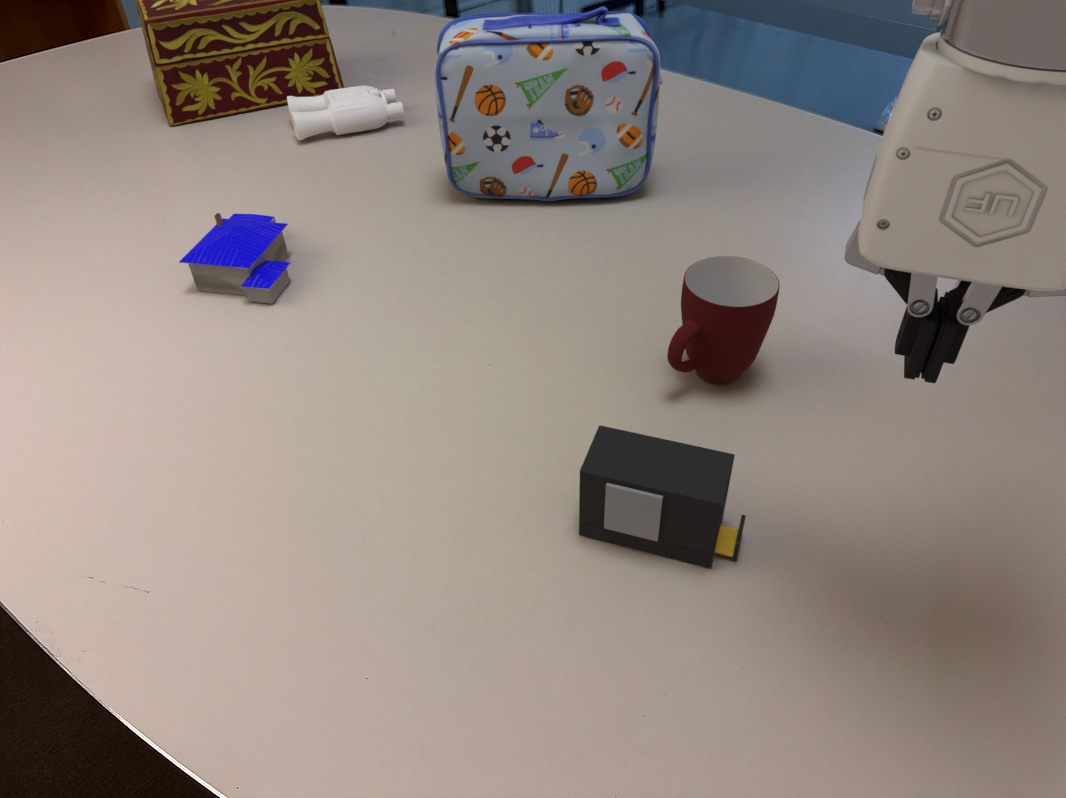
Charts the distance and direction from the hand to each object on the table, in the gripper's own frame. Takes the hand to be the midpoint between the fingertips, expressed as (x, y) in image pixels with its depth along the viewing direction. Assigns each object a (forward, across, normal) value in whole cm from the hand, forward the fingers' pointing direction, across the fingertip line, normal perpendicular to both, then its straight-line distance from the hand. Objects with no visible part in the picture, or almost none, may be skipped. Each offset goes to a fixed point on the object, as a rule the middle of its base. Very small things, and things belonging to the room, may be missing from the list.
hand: (919, 365), depth 45 cm
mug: (+19, -13, +19) cm, 30 cm away
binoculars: (+19, -75, +62) cm, 99 cm away
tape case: (+19, -14, 0) cm, 24 cm away
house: (+19, -66, +22) cm, 72 cm away
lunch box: (+19, -39, +51) cm, 67 cm away
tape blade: (+19, -13, 0) cm, 23 cm away
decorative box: (+19, -98, +70) cm, 122 cm away
